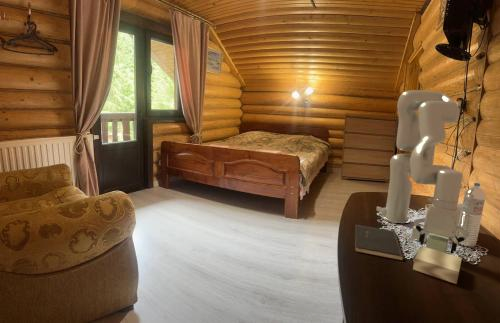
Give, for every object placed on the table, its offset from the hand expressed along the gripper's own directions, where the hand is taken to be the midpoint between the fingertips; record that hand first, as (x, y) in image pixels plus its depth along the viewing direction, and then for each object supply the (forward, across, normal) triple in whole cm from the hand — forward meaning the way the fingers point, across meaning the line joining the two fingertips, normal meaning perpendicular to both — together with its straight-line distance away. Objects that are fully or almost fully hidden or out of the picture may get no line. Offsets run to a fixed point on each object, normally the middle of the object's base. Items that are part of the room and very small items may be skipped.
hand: (436, 247), depth 112 cm
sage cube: (+2, 0, 0) cm, 2 cm away
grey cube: (+2, -7, +9) cm, 12 cm away
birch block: (+2, +2, -14) cm, 14 cm away
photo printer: (+2, +5, +34) cm, 34 cm away
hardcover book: (+3, -19, -8) cm, 21 cm away
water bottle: (+2, +8, +18) cm, 20 cm away
